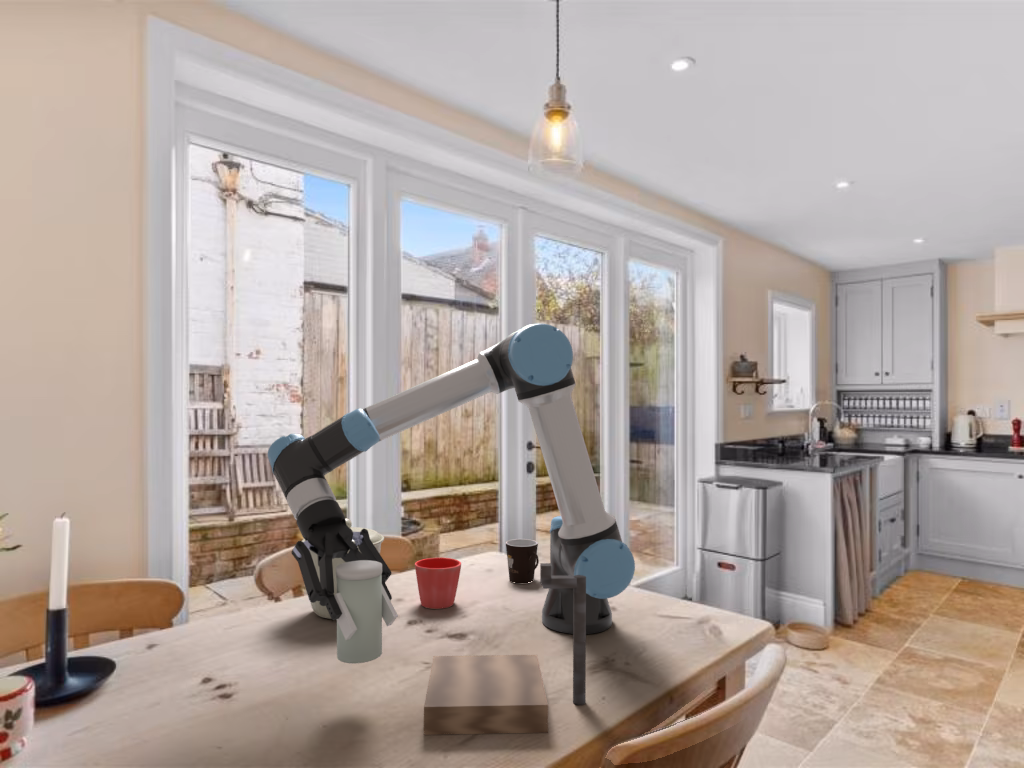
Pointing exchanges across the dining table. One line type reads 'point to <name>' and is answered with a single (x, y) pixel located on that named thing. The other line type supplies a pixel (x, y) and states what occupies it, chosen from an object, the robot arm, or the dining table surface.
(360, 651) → the domed lid bottle
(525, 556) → the coffee mug
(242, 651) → the dining table surface
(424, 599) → the flower pot
